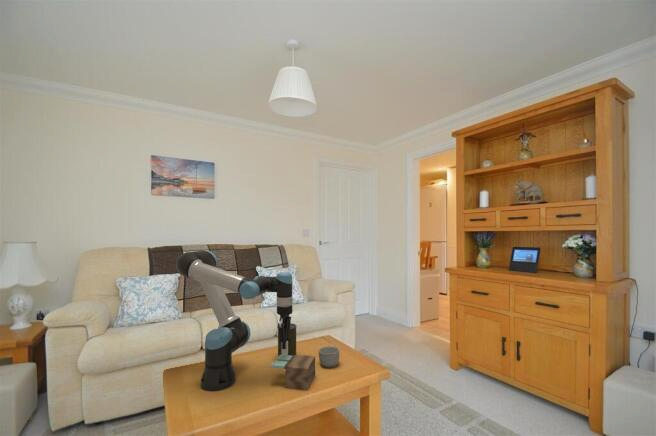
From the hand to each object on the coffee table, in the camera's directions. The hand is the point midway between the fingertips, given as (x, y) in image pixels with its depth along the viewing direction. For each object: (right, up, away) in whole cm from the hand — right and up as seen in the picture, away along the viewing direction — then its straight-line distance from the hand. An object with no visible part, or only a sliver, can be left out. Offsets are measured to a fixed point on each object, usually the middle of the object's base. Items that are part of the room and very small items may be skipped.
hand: (284, 354), depth 152 cm
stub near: (-1, -2, -7) cm, 7 cm away
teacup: (+21, -11, +14) cm, 28 cm away
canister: (-2, -11, +21) cm, 24 cm away
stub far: (0, -2, 0) cm, 2 cm away
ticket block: (+8, -10, -5) cm, 14 cm away
